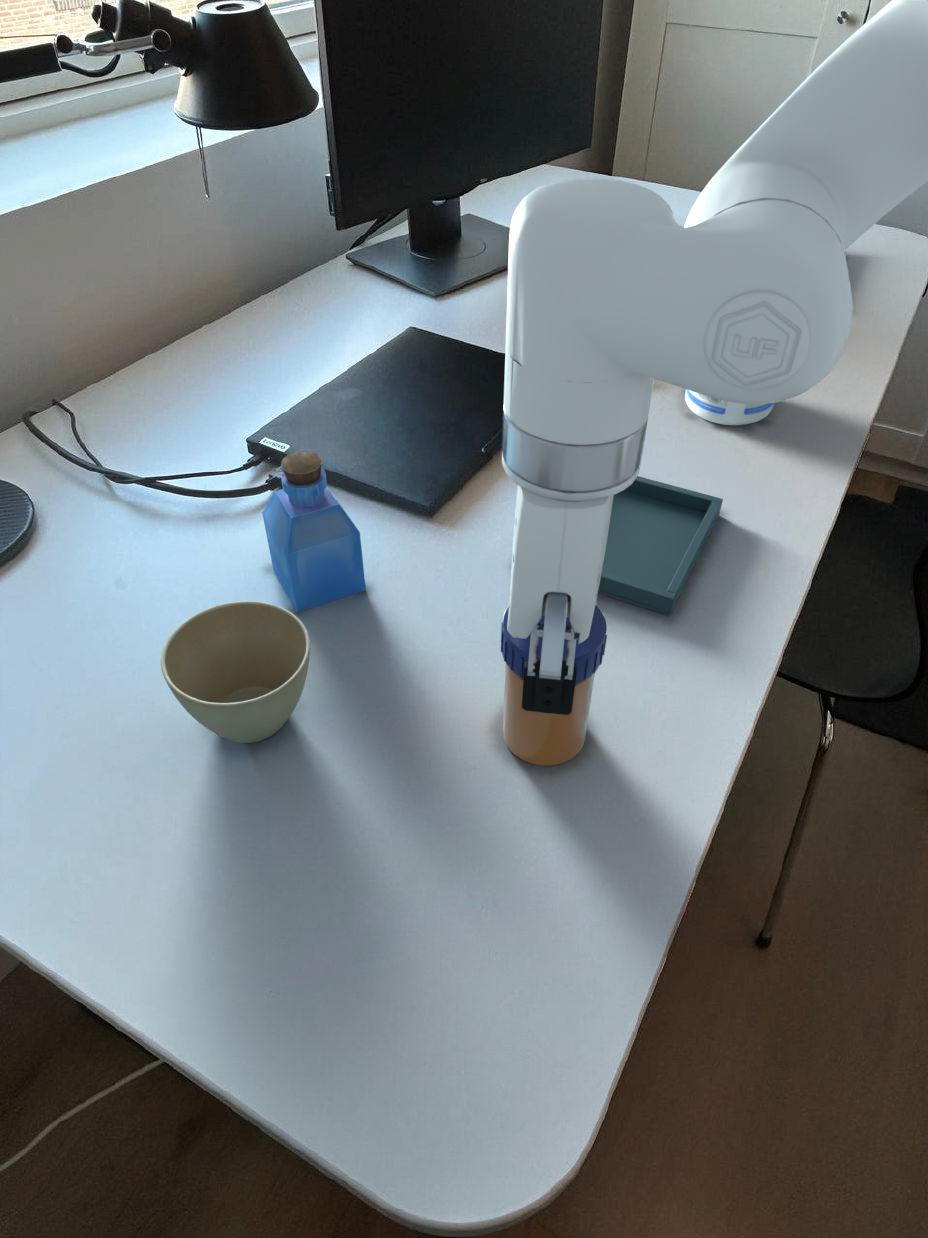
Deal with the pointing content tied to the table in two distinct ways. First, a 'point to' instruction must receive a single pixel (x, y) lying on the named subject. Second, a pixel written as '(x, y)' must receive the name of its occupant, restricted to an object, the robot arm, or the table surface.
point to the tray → (655, 542)
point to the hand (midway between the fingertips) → (550, 666)
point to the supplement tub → (726, 409)
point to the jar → (544, 725)
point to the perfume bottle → (312, 536)
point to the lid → (585, 653)
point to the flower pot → (238, 668)
